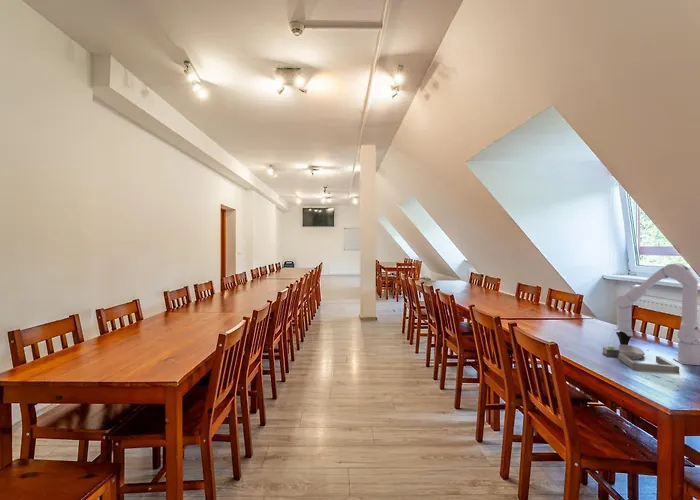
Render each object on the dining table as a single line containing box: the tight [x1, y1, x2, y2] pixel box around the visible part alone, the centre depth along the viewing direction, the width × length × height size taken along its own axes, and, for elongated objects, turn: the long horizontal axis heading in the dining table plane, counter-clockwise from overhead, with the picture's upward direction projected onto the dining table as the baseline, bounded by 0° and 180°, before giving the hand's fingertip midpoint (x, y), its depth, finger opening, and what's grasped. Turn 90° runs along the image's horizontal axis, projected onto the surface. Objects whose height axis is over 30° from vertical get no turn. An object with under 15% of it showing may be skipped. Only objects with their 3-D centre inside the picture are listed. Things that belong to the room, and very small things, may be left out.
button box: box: [602, 346, 619, 358], centre depth 179 cm, size 5×5×3 cm
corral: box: [617, 353, 680, 374], centre depth 164 cm, size 16×16×2 cm
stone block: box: [618, 344, 646, 361], centre depth 178 cm, size 12×5×10 cm
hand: (623, 347), depth 187 cm, fingers closed
